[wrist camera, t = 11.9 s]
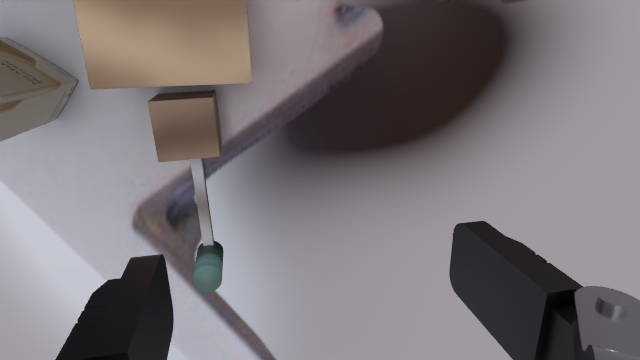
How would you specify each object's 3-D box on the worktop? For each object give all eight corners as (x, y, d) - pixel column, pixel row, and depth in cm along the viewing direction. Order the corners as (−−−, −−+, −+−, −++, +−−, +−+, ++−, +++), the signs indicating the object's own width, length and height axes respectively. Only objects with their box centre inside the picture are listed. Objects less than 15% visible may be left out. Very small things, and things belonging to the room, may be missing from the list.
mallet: (158, 93, 37) (146, 102, 32) (215, 90, 38) (212, 98, 33) (187, 265, 43) (181, 296, 38) (236, 259, 44) (236, 288, 39)
